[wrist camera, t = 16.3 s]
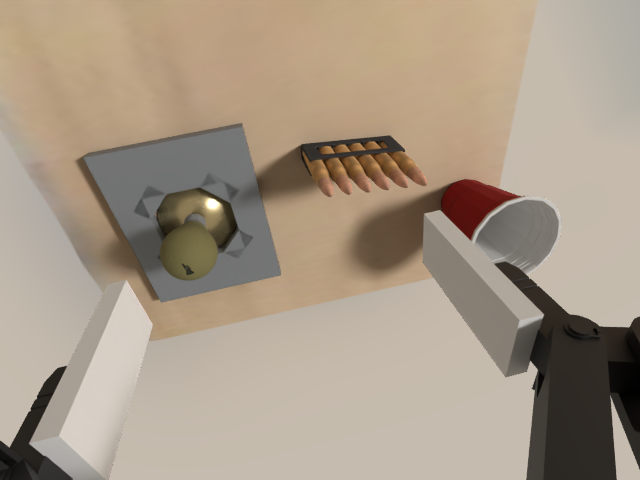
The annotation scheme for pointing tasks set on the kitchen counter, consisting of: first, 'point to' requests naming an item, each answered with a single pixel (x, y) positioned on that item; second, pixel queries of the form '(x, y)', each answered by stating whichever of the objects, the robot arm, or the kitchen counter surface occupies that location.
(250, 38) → the kitchen counter surface
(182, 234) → the light bulb
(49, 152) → the kitchen counter surface
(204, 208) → the socket plate
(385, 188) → the ammunition clip
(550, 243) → the plastic cup
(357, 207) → the kitchen counter surface
